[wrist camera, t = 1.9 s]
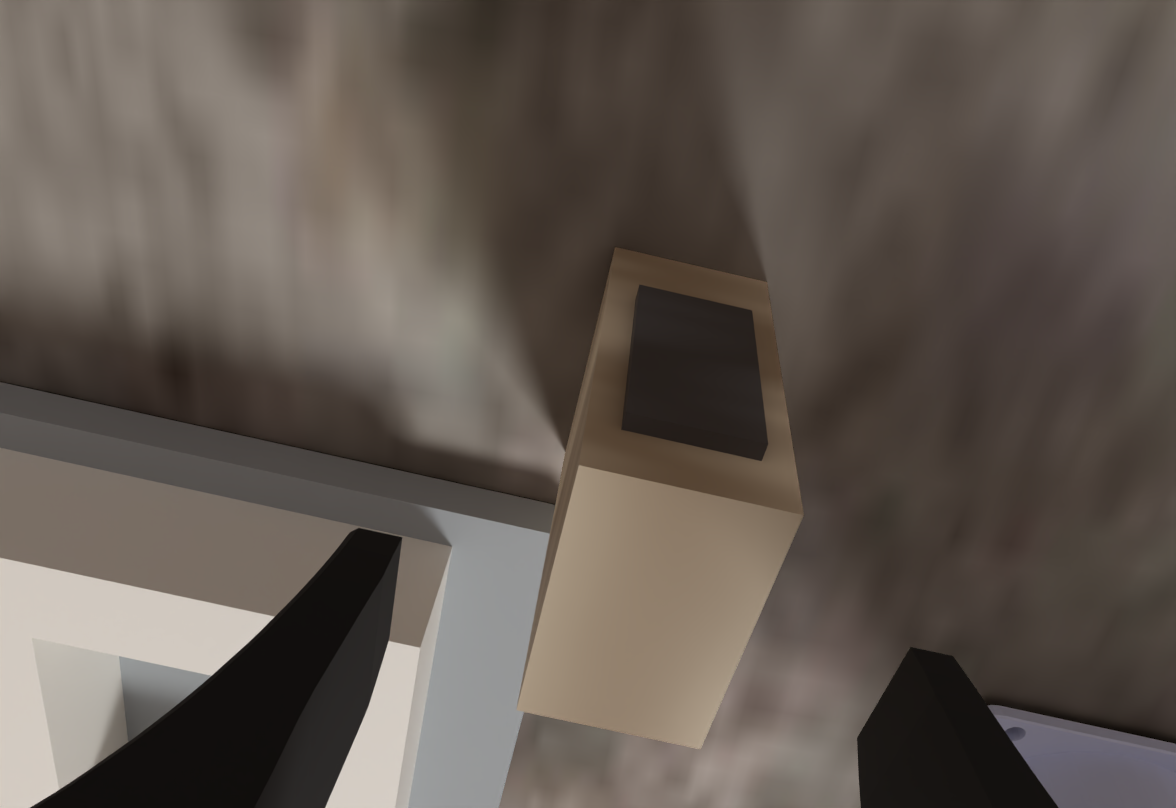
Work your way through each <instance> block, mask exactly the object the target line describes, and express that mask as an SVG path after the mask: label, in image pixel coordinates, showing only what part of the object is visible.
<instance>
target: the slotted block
mask: <svg viewBox="0 0 1176 808" xmlns="http://www.w3.org/2000/svg"><path fill="white" fill-rule="evenodd" d="M554 509H555V505H553V504H549V503H544V502H540V501H535V500H531V499H526V498H522V497H517V496H513V495H508V494H504V493H499V492H495V491H490V490H486V489H481V488H477V487H472V486H467V485H463V484H458V483H454V482H449V481H445V480H440V479H436V478H431V477H427V476H422V475H418V474H413V473H409V472H404V471H400V470H395V469H391V468H386V467H382V466H377V465H373V464H368V463H364V462H359V461H355V460H350V459H345V458H341V457H336V456H332V455H327V454H323V453H318V452H314V451H309V450H305V449H300V448H296V447H291V446H287V445H282V444H278V443H273V442H269V441H264V440H260V439H255V438H251V437H246V436H242V435H237V434H233V433H228V432H223V431H219V430H214V429H210V428H205V427H201V426H196V425H192V424H187V423H183V422H178V421H174V420H169V419H165V418H160V417H156V416H151V415H147V414H142V413H138V412H133V411H129V410H124V409H120V408H115V407H111V406H106V405H101V404H97V403H92V402H88V401H83V400H79V399H74V398H70V397H65V396H61V395H56V394H52V393H47V392H43V391H38V390H34V389H29V388H25V387H20V386H16V385H11V384H7V383H2V382H0V808H30V807H32V806H34V805H35V804H37V803H38V802H40V801H42V800H43V799H45V798H47V797H48V796H50V795H52V794H53V793H55V792H56V791H58V790H59V789H61V788H62V787H64V786H66V785H67V784H69V783H70V782H72V781H73V780H75V779H76V778H78V777H79V776H81V775H82V774H84V773H85V772H87V771H88V770H89V769H91V768H92V767H94V766H95V765H97V764H98V763H99V762H101V761H102V760H104V759H105V758H106V757H108V756H109V755H111V754H112V753H113V752H115V751H116V750H118V749H119V748H120V747H122V746H123V745H125V744H126V743H128V742H129V741H130V740H132V739H133V738H135V737H136V736H137V735H139V734H140V733H141V732H143V731H144V730H145V729H147V728H148V727H149V726H150V725H152V724H153V723H154V722H156V721H157V720H158V719H159V718H161V717H162V716H163V715H165V714H166V713H167V712H169V711H170V710H171V709H172V708H174V707H175V706H176V705H177V704H179V703H180V702H181V701H182V700H184V699H185V698H186V697H187V696H188V695H190V694H191V693H192V692H193V691H194V690H196V689H197V688H198V687H199V686H200V685H202V684H203V683H204V682H205V681H206V680H207V679H208V678H210V677H211V676H212V675H213V674H214V673H215V672H216V671H217V670H218V669H220V668H221V667H222V666H223V665H224V664H225V663H226V662H227V661H228V660H230V659H231V658H232V657H233V656H234V655H235V654H236V653H237V652H238V651H240V650H241V649H242V648H243V647H244V646H245V645H246V644H247V643H248V642H250V641H251V640H252V639H253V638H254V637H255V636H256V635H257V634H258V633H259V632H260V631H261V630H262V629H263V628H264V627H265V626H266V625H267V624H268V623H269V622H270V621H271V620H272V619H273V618H274V617H275V616H276V615H277V614H278V613H279V612H280V611H281V610H282V609H283V608H284V607H285V606H286V605H287V604H288V603H289V602H290V601H291V600H292V599H293V598H294V597H295V596H296V595H297V594H298V592H299V591H300V590H301V589H302V588H303V587H304V586H305V585H306V584H307V583H308V582H309V581H310V579H311V578H312V577H313V576H314V575H315V574H316V573H317V572H318V571H319V569H320V568H321V567H322V566H323V565H324V564H325V563H326V561H327V560H328V559H329V558H330V557H331V555H332V554H333V553H334V552H335V551H336V549H337V548H338V547H339V546H340V544H341V543H342V542H343V540H344V539H345V538H346V537H347V535H348V534H349V533H350V532H351V531H353V530H355V529H357V528H362V529H367V530H371V531H376V532H381V533H385V534H390V535H394V536H399V537H402V544H401V552H400V560H399V567H398V575H397V583H396V591H395V598H394V606H393V614H392V622H391V630H390V637H389V641H388V645H387V648H386V651H385V655H384V658H383V661H382V664H381V668H380V671H379V674H378V678H377V681H376V684H375V687H374V690H373V694H372V697H371V700H370V703H369V706H368V709H367V711H366V714H365V716H364V718H363V721H362V723H361V725H360V728H359V730H358V733H357V735H356V737H355V740H354V742H353V744H352V747H351V749H350V751H349V754H348V756H347V758H346V761H345V763H344V765H343V768H342V770H341V772H340V775H339V777H338V779H337V781H336V784H335V786H334V788H333V791H332V793H331V795H330V798H329V800H328V802H327V805H326V807H325V808H499V804H500V800H501V796H502V793H503V789H504V785H505V781H506V777H507V774H508V770H509V766H510V762H511V758H512V755H513V751H514V747H515V743H516V739H517V735H518V732H519V728H520V724H521V720H522V716H523V713H524V712H522V711H518V710H516V709H517V704H518V698H519V693H520V688H521V683H522V677H523V672H524V667H525V662H526V656H527V651H528V646H529V641H530V635H531V630H532V625H533V620H534V614H535V609H536V604H537V599H538V593H539V588H540V583H541V578H542V572H543V567H544V562H545V557H546V551H547V546H548V541H549V535H550V530H551V525H552V520H553V514H554Z"/></svg>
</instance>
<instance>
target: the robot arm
mask: <svg viewBox="0 0 1176 808" xmlns="http://www.w3.org/2000/svg"><path fill="white" fill-rule="evenodd" d="M401 544H402V537H399V536H394V535H390V534H385V533H381V532H376V531H371V530H367V529H362V528H357V529H355V530H353V531H351V532H350V533H349V534H348V535H347V537H346V538H345V539H344V540H343V542H342V543H341V544H340V546H339V547H338V548H337V549H336V551H335V552H334V553H333V554H332V555H331V557H330V558H329V559H328V560H327V561H326V563H325V564H324V565H323V566H322V567H321V568H320V569H319V571H318V572H317V573H316V574H315V575H314V576H313V577H312V578H311V579H310V581H309V582H308V583H307V584H306V585H305V586H304V587H303V588H302V589H301V590H300V591H299V592H298V594H297V595H296V596H295V597H294V598H293V599H292V600H291V601H290V602H289V603H288V604H287V605H286V606H285V607H284V608H283V609H282V610H281V611H280V612H279V613H278V614H277V615H276V616H275V617H274V618H273V619H272V620H271V621H270V622H269V623H268V624H267V625H266V626H265V627H264V628H263V629H262V630H261V631H260V632H259V633H258V634H257V635H256V636H255V637H254V638H253V639H252V640H251V641H250V642H248V643H247V644H246V645H245V646H244V647H243V648H242V649H241V650H240V651H238V652H237V653H236V654H235V655H234V656H233V657H232V658H231V659H230V660H228V661H227V662H226V663H225V664H224V665H223V666H222V667H221V668H220V669H218V670H217V671H216V672H215V673H214V674H213V675H212V676H211V677H210V678H208V679H207V680H206V681H205V682H204V683H203V684H202V685H200V686H199V687H198V688H197V689H196V690H194V691H193V692H192V693H191V694H190V695H188V696H187V697H186V698H185V699H184V700H182V701H181V702H180V703H179V704H177V705H176V706H175V707H174V708H172V709H171V710H170V711H169V712H167V713H166V714H165V715H163V716H162V717H161V718H159V719H158V720H157V721H156V722H154V723H153V724H152V725H150V726H149V727H148V728H147V729H145V730H144V731H143V732H141V733H140V734H139V735H137V736H136V737H135V738H133V739H132V740H130V741H129V742H128V743H126V744H125V745H123V746H122V747H120V748H119V749H118V750H116V751H115V752H113V753H112V754H111V755H109V756H108V757H106V758H105V759H104V760H102V761H101V762H99V763H98V764H97V765H95V766H94V767H92V768H91V769H89V770H88V771H87V772H85V773H84V774H82V775H81V776H79V777H78V778H76V779H75V780H73V781H72V782H70V783H69V784H67V785H66V786H64V787H62V788H61V789H59V790H58V791H56V792H55V793H53V794H52V795H50V796H48V797H47V798H45V799H43V800H42V801H40V802H38V803H37V804H35V805H34V806H32V807H30V808H325V807H326V805H327V802H328V800H329V798H330V795H331V793H332V791H333V788H334V786H335V784H336V781H337V779H338V777H339V775H340V772H341V770H342V768H343V765H344V763H345V761H346V758H347V756H348V754H349V751H350V749H351V747H352V744H353V742H354V740H355V737H356V735H357V733H358V730H359V728H360V725H361V723H362V721H363V718H364V716H365V714H366V711H367V709H368V706H369V703H370V700H371V697H372V694H373V690H374V687H375V684H376V681H377V678H378V674H379V671H380V668H381V664H382V661H383V658H384V655H385V651H386V648H387V645H388V641H389V637H390V630H391V622H392V614H393V606H394V598H395V591H396V583H397V575H398V567H399V560H400V552H401ZM857 742H858V768H859V786H860V801H861V808H1176V744H1175V743H1170V742H1165V741H1161V740H1156V739H1152V738H1147V737H1142V736H1138V735H1133V734H1129V733H1124V732H1119V731H1115V730H1110V729H1106V728H1101V727H1096V726H1092V725H1087V724H1082V723H1078V722H1073V721H1069V720H1064V719H1059V718H1055V717H1050V716H1046V715H1041V714H1036V713H1032V712H1027V711H1023V710H1018V709H1013V708H1009V707H1004V706H1000V705H988V706H987V704H986V703H985V702H984V700H983V699H982V697H981V696H980V694H979V693H978V691H977V690H976V688H975V687H974V685H973V684H972V683H971V681H970V680H969V678H968V677H967V675H966V674H965V672H964V671H963V670H962V668H961V667H960V665H959V664H958V663H957V661H956V660H955V658H954V657H953V656H950V655H945V654H940V653H936V652H931V651H926V650H922V649H917V648H913V647H910V649H909V651H908V653H907V654H906V656H905V658H904V659H903V661H902V663H901V664H900V666H899V668H898V670H897V671H896V673H895V675H894V676H893V678H892V680H891V681H890V683H889V685H888V687H887V688H886V690H885V692H884V693H883V695H882V697H881V698H880V700H879V702H878V704H877V705H876V707H875V709H874V710H873V712H872V714H871V715H870V717H869V719H868V721H867V722H866V724H865V726H864V727H863V729H862V731H861V732H860V734H859V736H858V738H857Z"/></svg>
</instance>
